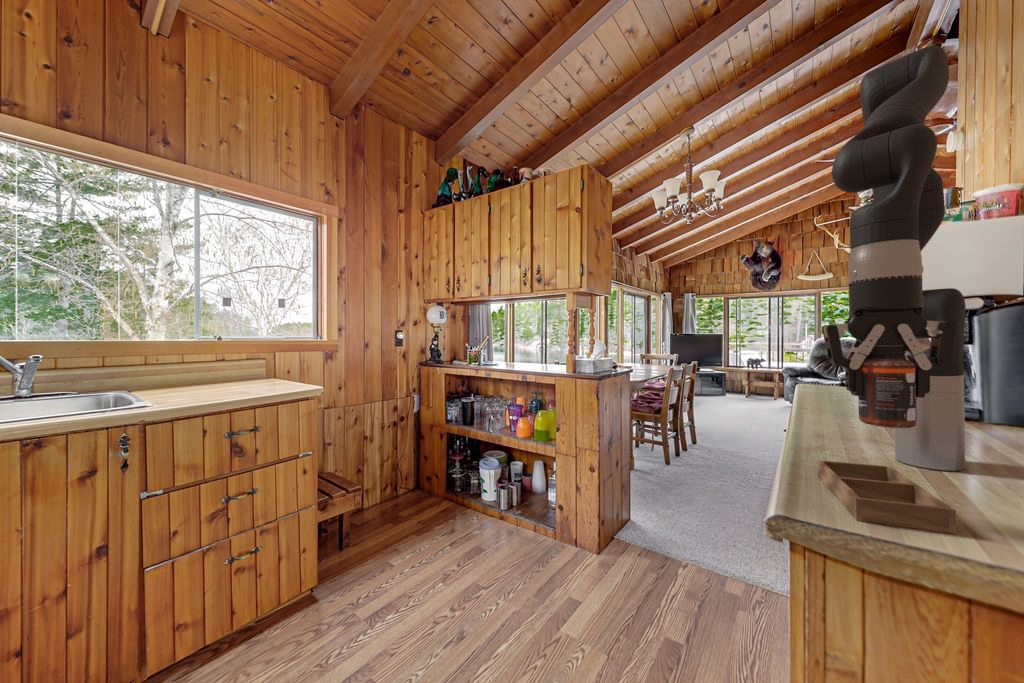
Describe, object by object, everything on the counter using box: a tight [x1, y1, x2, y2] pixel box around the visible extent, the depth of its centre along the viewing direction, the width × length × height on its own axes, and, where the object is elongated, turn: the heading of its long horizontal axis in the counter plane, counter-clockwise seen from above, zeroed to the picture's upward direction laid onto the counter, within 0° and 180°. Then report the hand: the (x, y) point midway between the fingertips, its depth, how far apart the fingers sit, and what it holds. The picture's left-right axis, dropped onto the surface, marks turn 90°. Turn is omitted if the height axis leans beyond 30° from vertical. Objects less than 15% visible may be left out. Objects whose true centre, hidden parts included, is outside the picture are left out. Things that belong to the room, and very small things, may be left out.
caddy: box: [817, 459, 957, 535], centre depth 59 cm, size 18×10×3 cm, turn 155°
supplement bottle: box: [857, 345, 917, 429], centre depth 55 cm, size 6×6×11 cm
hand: (885, 395), depth 55 cm, fingers closed on supplement bottle, 6 cm apart
